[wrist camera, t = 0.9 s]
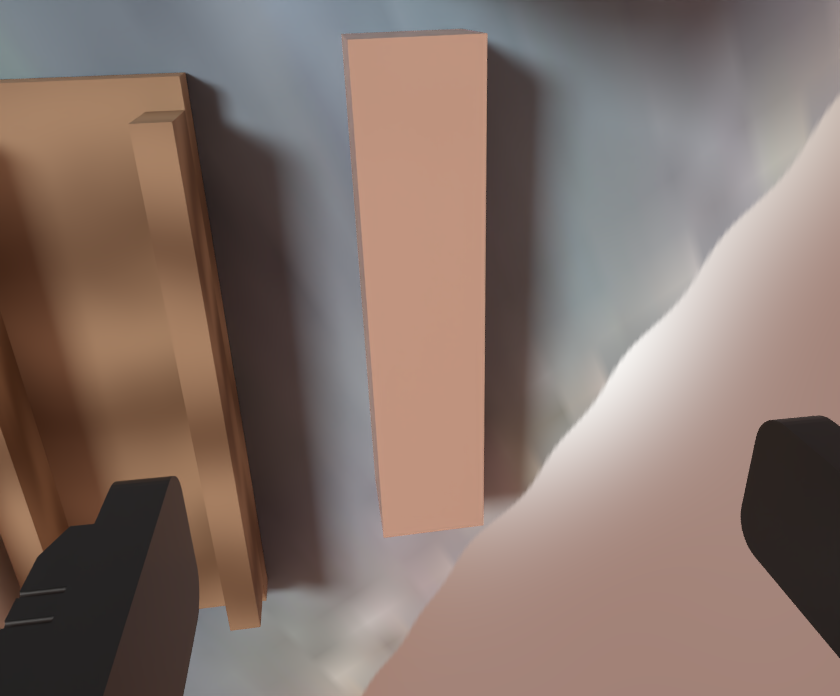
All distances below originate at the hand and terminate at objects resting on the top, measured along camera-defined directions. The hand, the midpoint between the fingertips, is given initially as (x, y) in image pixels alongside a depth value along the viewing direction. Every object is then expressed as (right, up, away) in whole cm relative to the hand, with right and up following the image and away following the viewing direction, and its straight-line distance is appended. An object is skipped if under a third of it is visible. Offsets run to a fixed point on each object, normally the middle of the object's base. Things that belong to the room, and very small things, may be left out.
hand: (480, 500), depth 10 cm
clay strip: (-1, +5, +18) cm, 18 cm away
